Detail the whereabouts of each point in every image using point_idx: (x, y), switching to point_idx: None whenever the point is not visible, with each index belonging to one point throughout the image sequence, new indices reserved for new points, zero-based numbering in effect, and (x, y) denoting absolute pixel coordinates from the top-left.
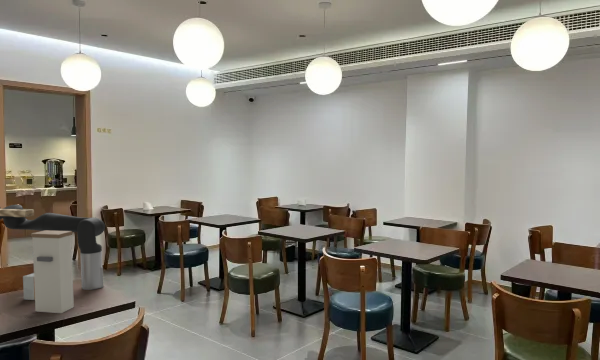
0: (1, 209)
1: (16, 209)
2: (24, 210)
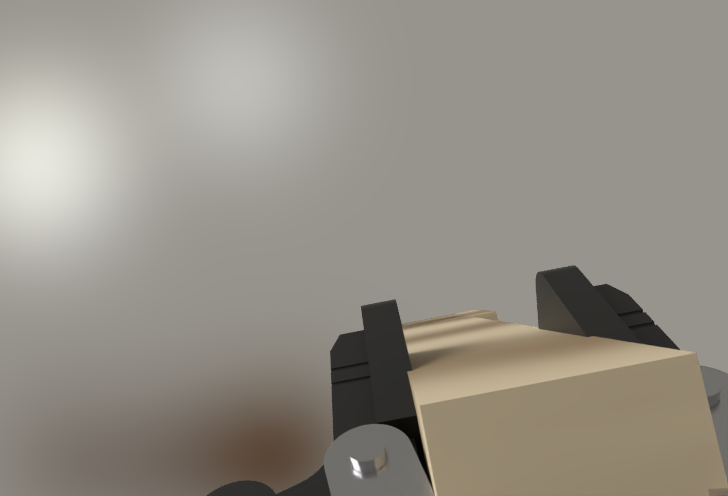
0: (468, 332)
1: (409, 330)
2: (447, 316)
